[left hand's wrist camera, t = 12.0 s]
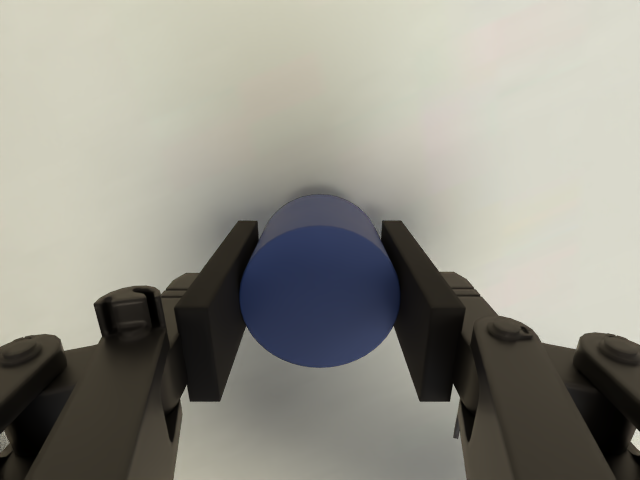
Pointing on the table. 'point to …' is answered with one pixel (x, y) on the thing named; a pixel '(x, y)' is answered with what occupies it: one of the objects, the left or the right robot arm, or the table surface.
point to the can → (319, 284)
